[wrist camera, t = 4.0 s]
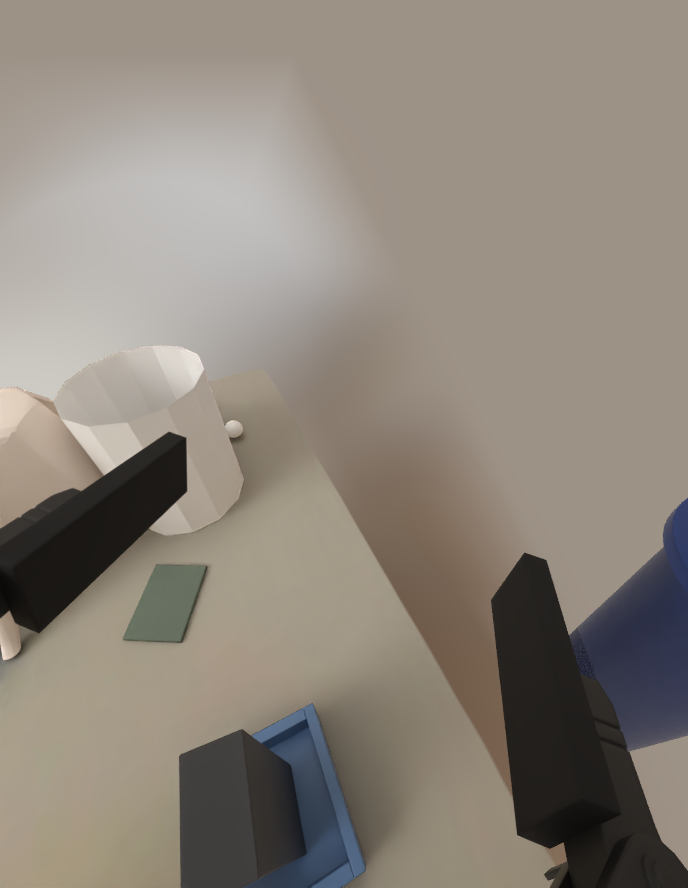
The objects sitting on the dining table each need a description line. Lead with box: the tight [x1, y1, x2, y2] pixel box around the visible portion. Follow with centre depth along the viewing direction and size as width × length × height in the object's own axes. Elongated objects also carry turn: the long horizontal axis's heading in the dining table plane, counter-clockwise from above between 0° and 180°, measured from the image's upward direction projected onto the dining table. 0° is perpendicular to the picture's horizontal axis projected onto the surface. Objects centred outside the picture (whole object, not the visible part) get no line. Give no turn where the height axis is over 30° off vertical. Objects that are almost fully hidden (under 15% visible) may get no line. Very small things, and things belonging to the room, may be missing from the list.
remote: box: [179, 729, 307, 888], centre depth 21 cm, size 5×3×16 cm, turn 19°
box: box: [243, 703, 366, 888], centre depth 26 cm, size 10×10×4 cm
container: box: [53, 346, 244, 536], centre depth 44 cm, size 14×14×18 cm
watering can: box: [0, 387, 104, 660], centre depth 39 cm, size 16×27×19 cm, turn 8°
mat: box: [123, 565, 207, 642], centre depth 39 cm, size 8×6×1 cm
